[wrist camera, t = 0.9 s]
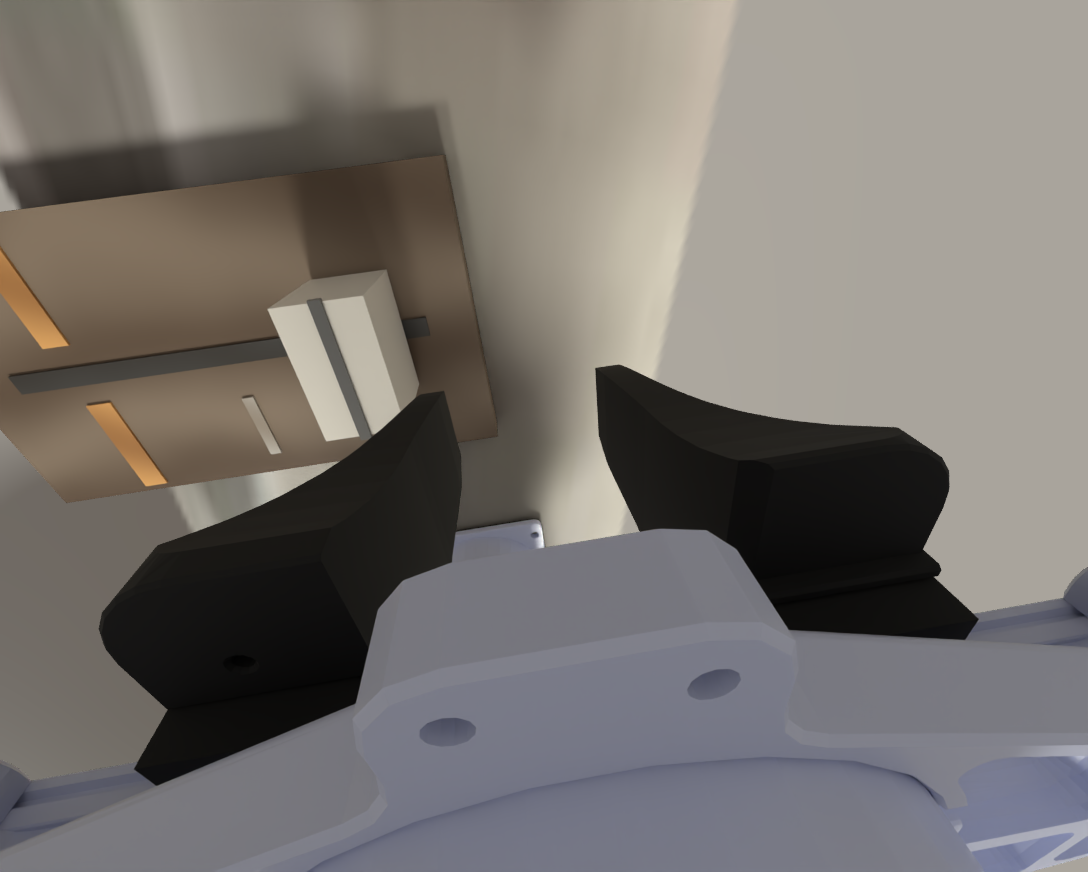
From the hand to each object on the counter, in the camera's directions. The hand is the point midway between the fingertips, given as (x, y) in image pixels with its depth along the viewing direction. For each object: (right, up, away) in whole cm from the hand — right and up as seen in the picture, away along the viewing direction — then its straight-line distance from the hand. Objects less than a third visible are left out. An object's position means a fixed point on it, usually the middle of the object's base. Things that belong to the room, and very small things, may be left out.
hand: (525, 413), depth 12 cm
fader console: (-13, +4, +8) cm, 16 cm away
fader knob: (-7, +4, +7) cm, 11 cm away
